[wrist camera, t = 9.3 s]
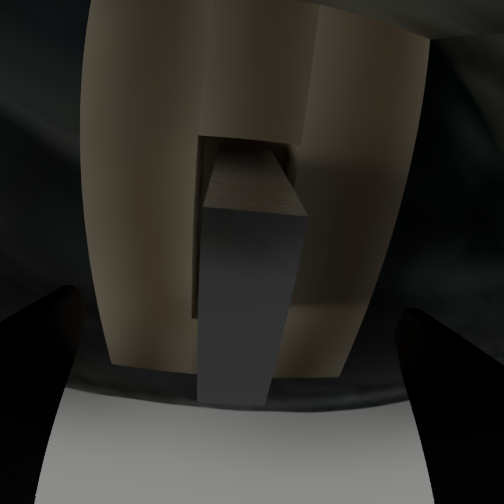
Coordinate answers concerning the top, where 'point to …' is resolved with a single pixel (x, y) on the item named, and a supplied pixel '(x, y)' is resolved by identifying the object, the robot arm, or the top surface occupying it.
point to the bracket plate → (245, 273)
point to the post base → (257, 133)
